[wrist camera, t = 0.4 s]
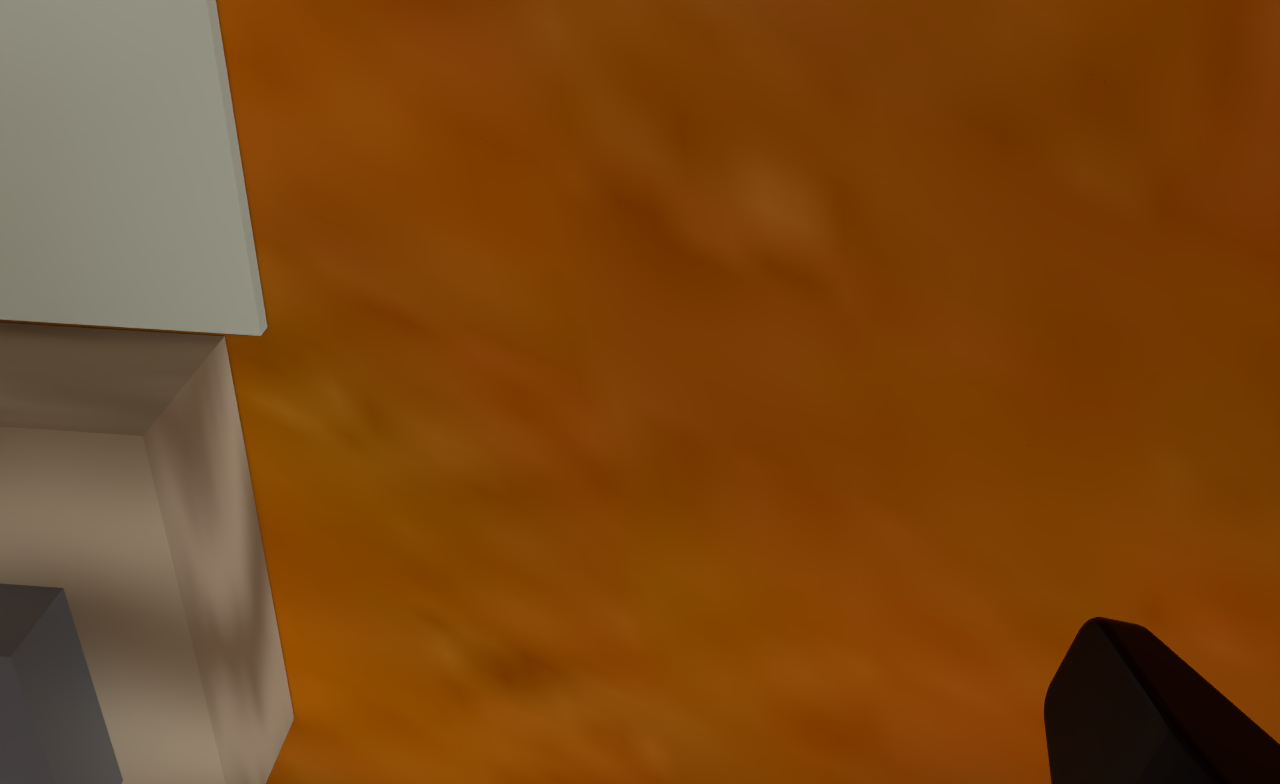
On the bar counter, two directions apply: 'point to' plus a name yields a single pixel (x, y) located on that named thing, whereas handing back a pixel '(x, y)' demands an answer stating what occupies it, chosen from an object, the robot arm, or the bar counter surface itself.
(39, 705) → the charcoal grey slab
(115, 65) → the mat
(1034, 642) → the bar counter surface
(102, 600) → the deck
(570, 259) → the bar counter surface
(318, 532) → the bar counter surface
